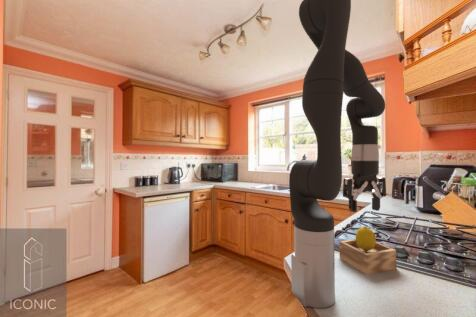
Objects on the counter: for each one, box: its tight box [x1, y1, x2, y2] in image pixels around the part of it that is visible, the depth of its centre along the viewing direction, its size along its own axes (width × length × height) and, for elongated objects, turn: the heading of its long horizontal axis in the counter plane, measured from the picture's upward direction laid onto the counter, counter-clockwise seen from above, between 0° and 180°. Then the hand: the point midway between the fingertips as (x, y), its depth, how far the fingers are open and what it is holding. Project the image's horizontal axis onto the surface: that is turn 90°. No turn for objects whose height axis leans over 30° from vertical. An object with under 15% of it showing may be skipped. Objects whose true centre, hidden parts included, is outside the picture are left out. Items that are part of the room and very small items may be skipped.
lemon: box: [355, 225, 377, 252], centre depth 72 cm, size 6×6×8 cm
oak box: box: [338, 238, 397, 275], centre depth 72 cm, size 11×11×6 cm
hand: (364, 210), depth 72 cm, fingers open, 8 cm apart
